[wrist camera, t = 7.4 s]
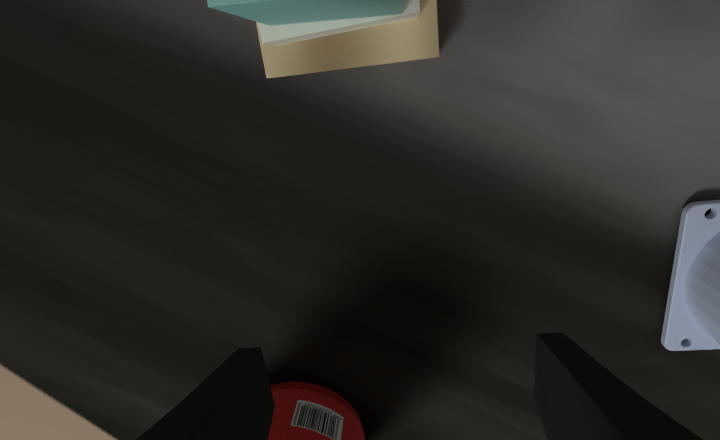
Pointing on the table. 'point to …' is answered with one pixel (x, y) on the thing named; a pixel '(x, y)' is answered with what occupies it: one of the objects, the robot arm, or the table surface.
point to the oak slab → (357, 46)
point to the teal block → (306, 9)
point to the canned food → (312, 414)
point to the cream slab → (331, 26)
